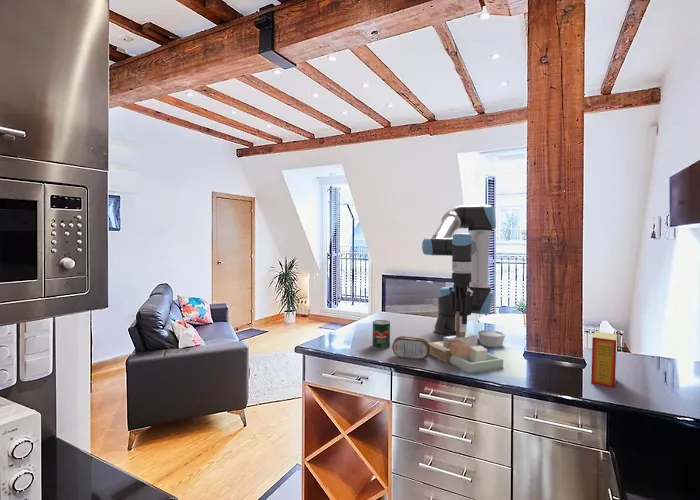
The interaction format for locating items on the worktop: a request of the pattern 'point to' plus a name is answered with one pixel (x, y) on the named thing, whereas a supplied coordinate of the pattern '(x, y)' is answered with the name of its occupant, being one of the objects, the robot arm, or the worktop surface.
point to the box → (477, 363)
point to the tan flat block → (441, 351)
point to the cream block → (478, 353)
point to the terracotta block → (459, 348)
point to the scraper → (460, 335)
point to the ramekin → (491, 338)
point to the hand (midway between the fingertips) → (460, 331)
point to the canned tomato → (381, 334)
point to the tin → (411, 347)
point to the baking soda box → (604, 359)
